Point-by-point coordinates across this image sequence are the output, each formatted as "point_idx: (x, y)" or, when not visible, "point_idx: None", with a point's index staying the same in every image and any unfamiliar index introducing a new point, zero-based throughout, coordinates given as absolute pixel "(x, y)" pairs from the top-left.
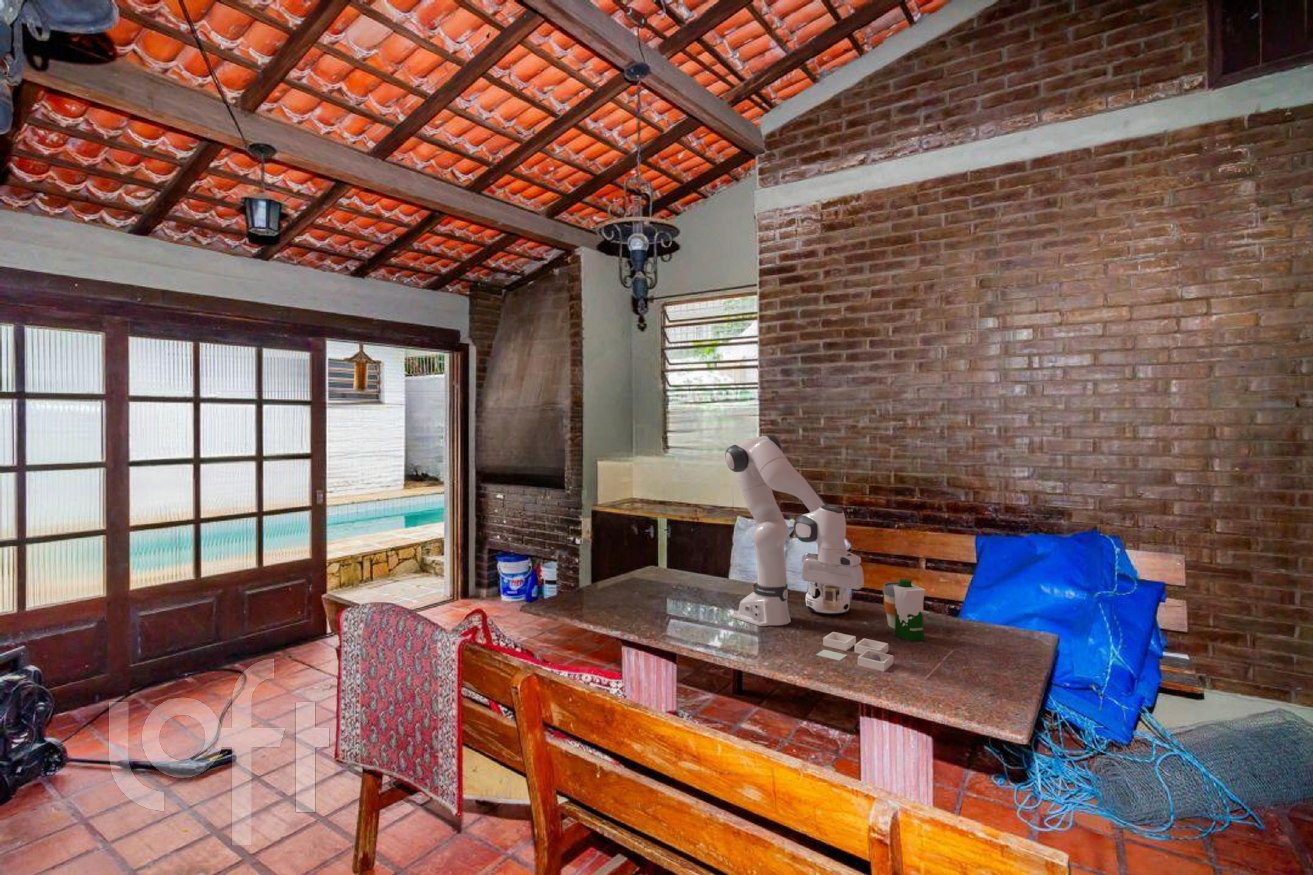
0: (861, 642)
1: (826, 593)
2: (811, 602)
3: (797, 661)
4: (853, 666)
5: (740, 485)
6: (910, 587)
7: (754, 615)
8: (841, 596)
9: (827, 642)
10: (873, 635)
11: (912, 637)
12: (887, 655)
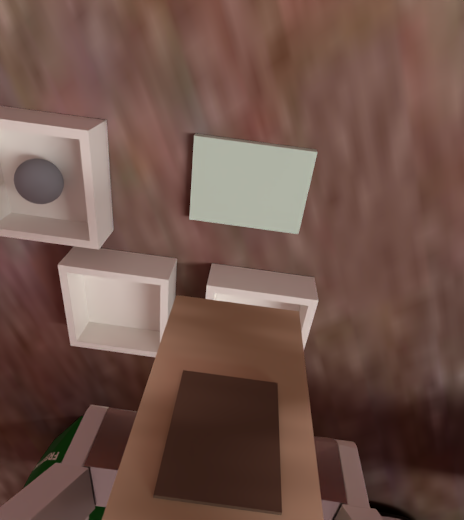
0: (161, 322)
1: (260, 464)
2: None
3: (397, 14)
4: (122, 111)
5: None
6: None
7: None
8: (73, 453)
9: (295, 287)
10: None
11: (65, 433)
12: (6, 227)
